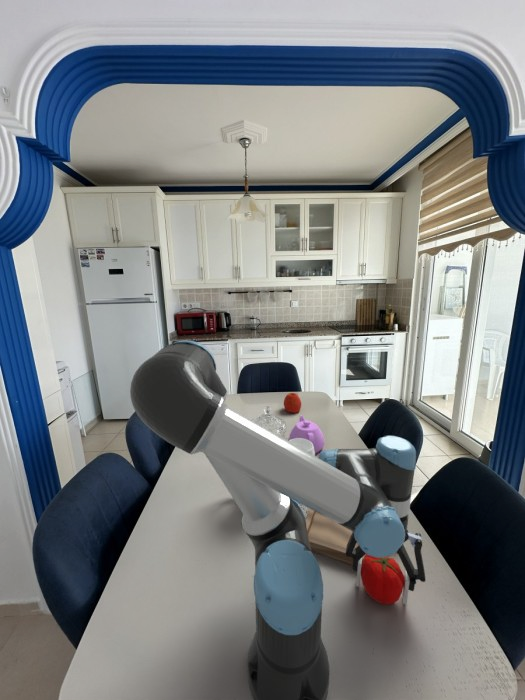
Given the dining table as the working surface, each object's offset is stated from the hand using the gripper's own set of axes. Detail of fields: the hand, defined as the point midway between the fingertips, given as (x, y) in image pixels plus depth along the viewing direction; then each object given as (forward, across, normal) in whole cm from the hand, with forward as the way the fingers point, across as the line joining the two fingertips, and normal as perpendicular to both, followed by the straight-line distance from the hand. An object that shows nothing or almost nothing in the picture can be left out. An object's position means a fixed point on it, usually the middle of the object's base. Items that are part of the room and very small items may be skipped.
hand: (380, 589), depth 70 cm
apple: (+1, +50, -90) cm, 103 cm away
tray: (+1, +13, -13) cm, 18 cm away
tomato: (0, 0, 0) cm, 1 cm away
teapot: (+1, +32, -56) cm, 65 cm away
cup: (+1, +29, -31) cm, 42 cm away
